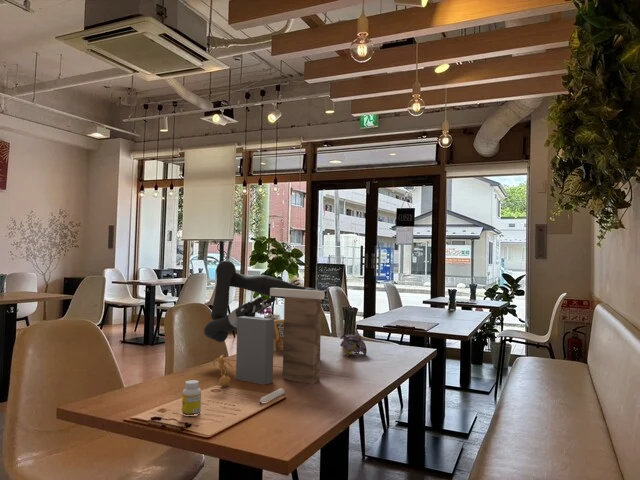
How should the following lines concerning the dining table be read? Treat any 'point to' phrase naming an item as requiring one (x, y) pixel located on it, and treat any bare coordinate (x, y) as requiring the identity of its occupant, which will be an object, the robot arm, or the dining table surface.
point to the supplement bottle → (191, 398)
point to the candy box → (278, 334)
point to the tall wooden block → (302, 339)
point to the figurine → (224, 379)
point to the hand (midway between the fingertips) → (268, 298)
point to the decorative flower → (353, 344)
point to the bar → (297, 293)
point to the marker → (272, 395)
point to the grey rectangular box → (255, 349)
